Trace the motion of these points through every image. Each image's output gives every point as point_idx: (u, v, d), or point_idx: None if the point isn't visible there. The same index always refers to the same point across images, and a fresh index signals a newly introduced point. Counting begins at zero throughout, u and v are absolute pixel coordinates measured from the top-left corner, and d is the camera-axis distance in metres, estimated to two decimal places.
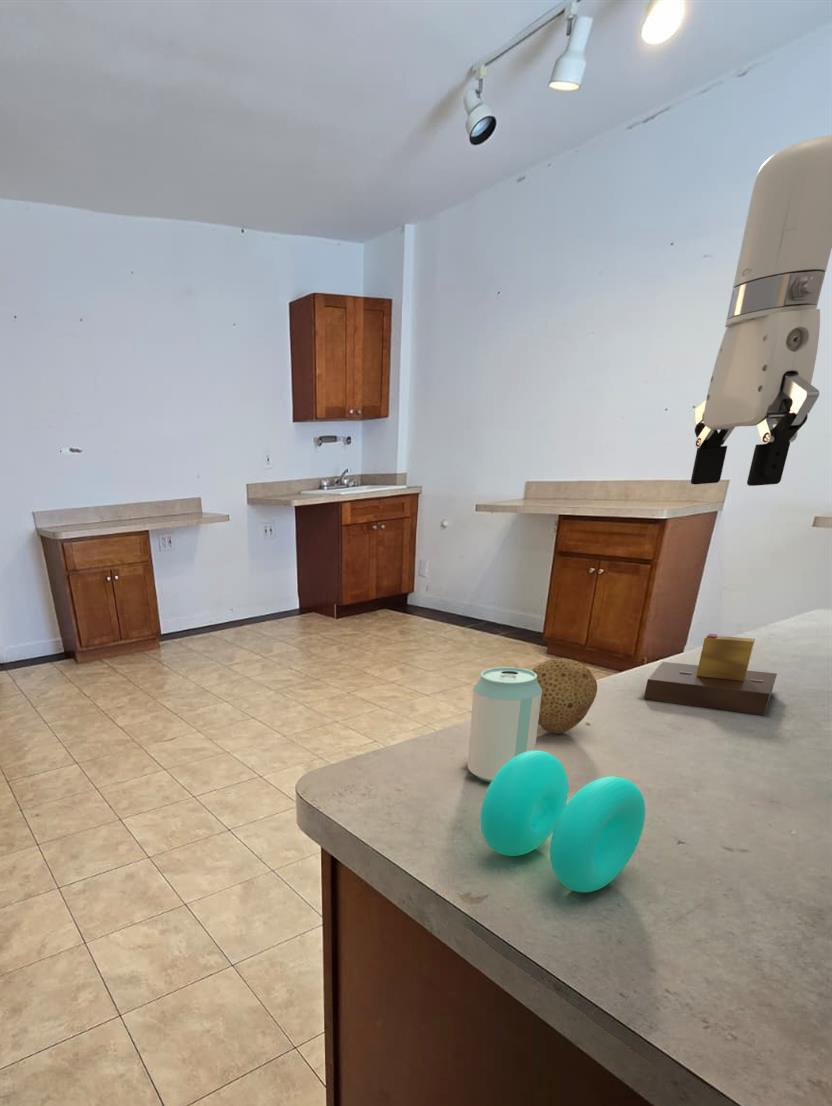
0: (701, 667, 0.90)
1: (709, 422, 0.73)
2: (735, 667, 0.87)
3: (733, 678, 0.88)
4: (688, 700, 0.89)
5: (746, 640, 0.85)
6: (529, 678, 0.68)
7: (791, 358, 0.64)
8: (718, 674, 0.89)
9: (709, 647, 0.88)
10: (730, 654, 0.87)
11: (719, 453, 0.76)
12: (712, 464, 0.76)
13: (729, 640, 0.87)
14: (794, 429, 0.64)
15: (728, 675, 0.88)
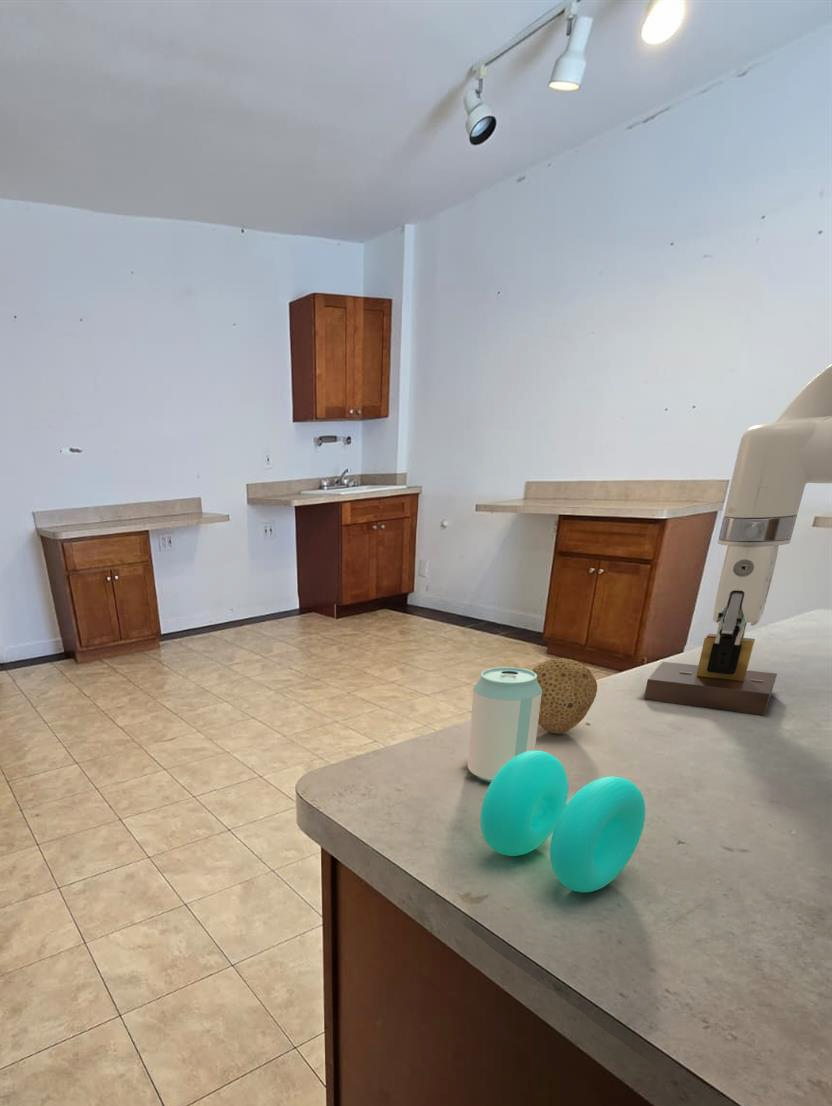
0: (701, 667, 0.90)
1: None
2: None
3: (733, 678, 0.88)
4: (688, 700, 0.89)
5: (746, 640, 0.85)
6: (529, 678, 0.68)
7: (737, 581, 0.80)
8: (718, 674, 0.89)
9: (709, 647, 0.88)
10: None
11: None
12: None
13: None
14: (730, 639, 0.84)
15: (728, 675, 0.88)
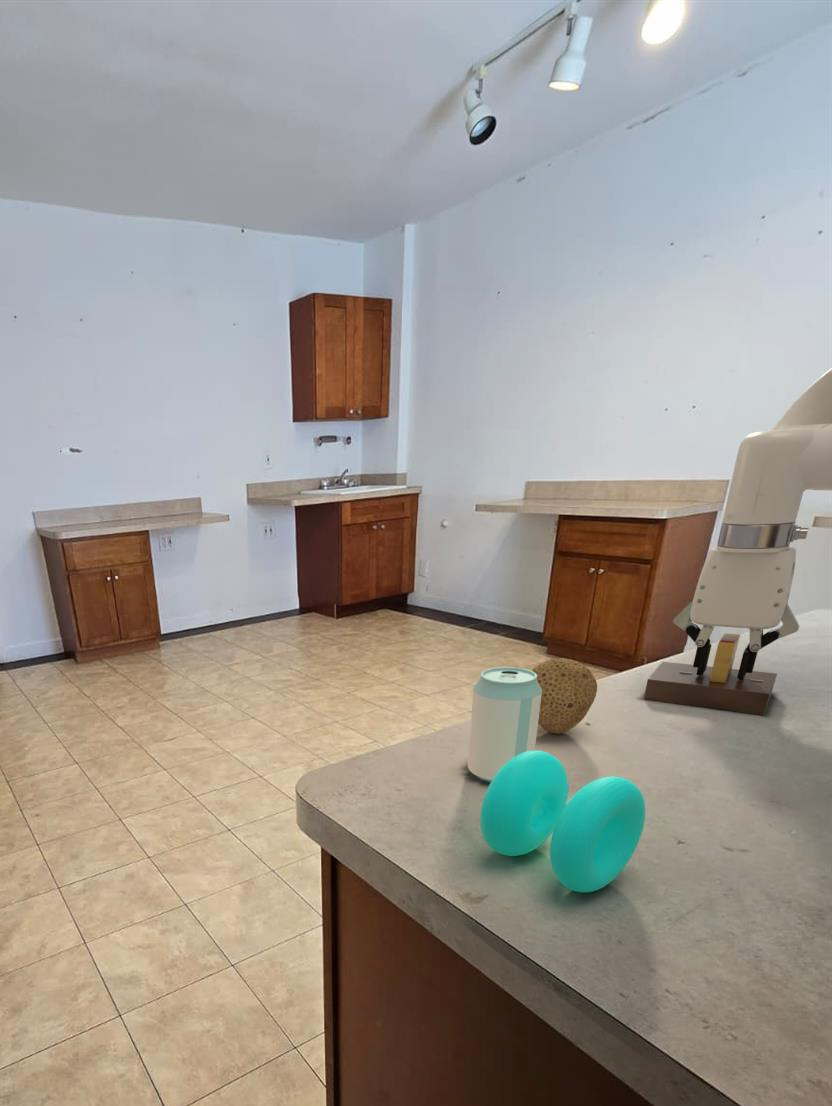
0: (727, 673, 0.87)
1: (703, 620, 0.87)
2: (732, 662, 0.89)
3: None
4: (688, 700, 0.89)
5: (738, 635, 0.88)
6: (529, 678, 0.68)
7: (790, 583, 0.81)
8: (728, 674, 0.89)
9: (733, 651, 0.86)
10: (734, 652, 0.88)
11: (709, 649, 0.90)
12: (707, 658, 0.90)
13: (737, 639, 0.87)
14: None
15: (730, 671, 0.89)
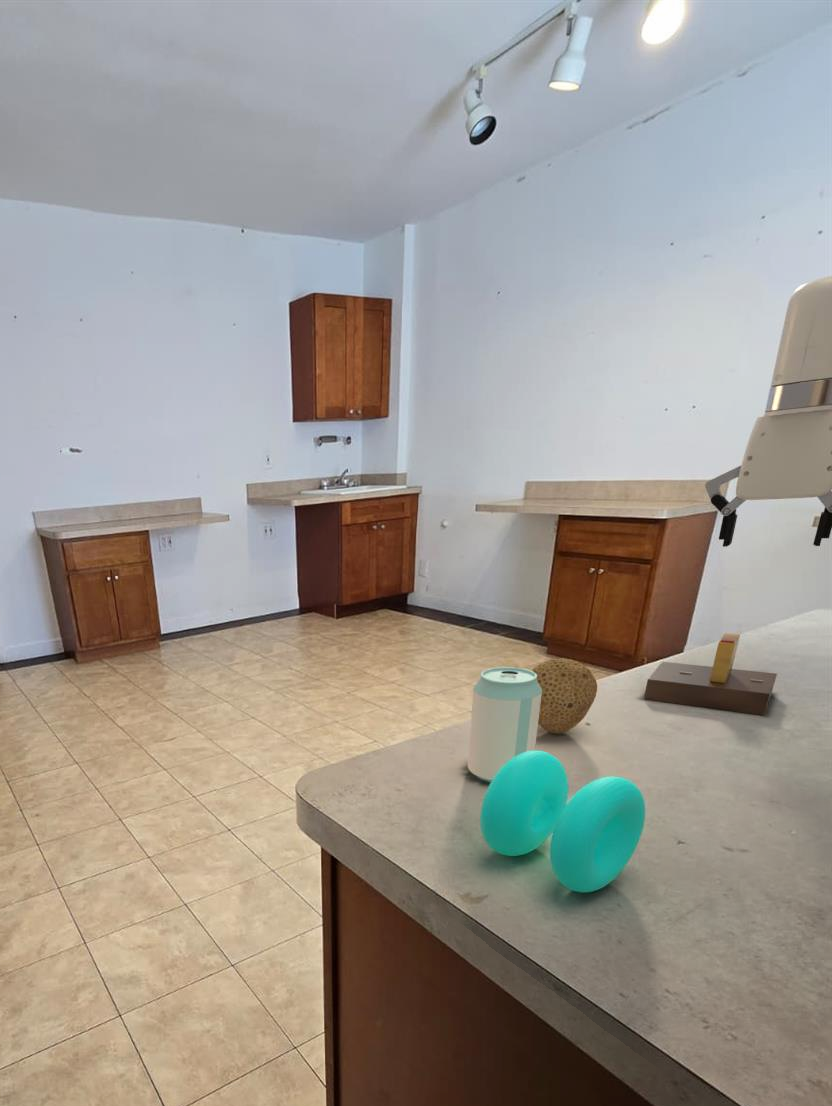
0: (727, 673, 0.87)
1: (751, 494, 0.84)
2: (732, 662, 0.89)
3: None
4: (688, 700, 0.89)
5: (738, 635, 0.88)
6: (529, 678, 0.68)
7: None
8: (728, 674, 0.89)
9: (733, 651, 0.86)
10: (734, 652, 0.88)
11: (736, 519, 0.88)
12: (733, 529, 0.88)
13: (737, 639, 0.87)
14: None
15: (730, 671, 0.89)
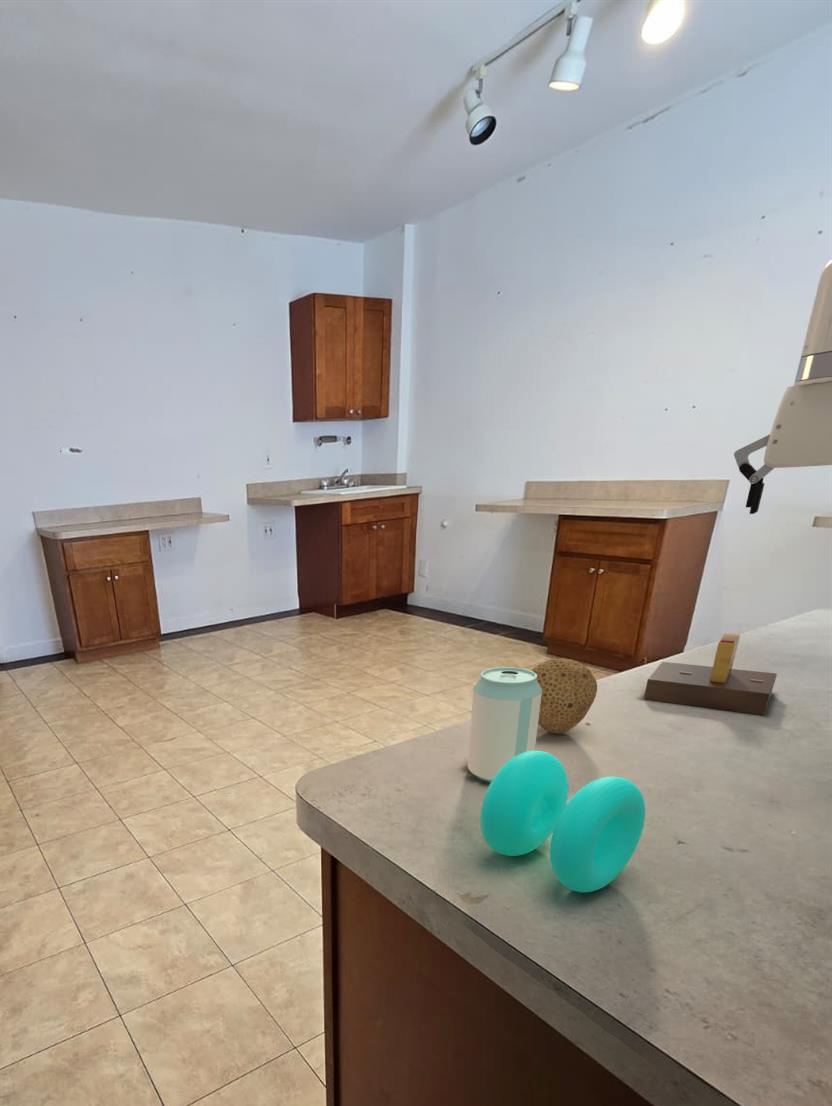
0: (727, 673, 0.87)
1: (778, 462, 0.87)
2: (732, 662, 0.89)
3: None
4: (688, 700, 0.89)
5: (738, 635, 0.88)
6: (529, 678, 0.68)
7: None
8: (728, 674, 0.89)
9: (733, 651, 0.86)
10: (734, 652, 0.88)
11: (762, 488, 0.91)
12: (760, 497, 0.91)
13: (737, 639, 0.87)
14: None
15: (730, 671, 0.89)
